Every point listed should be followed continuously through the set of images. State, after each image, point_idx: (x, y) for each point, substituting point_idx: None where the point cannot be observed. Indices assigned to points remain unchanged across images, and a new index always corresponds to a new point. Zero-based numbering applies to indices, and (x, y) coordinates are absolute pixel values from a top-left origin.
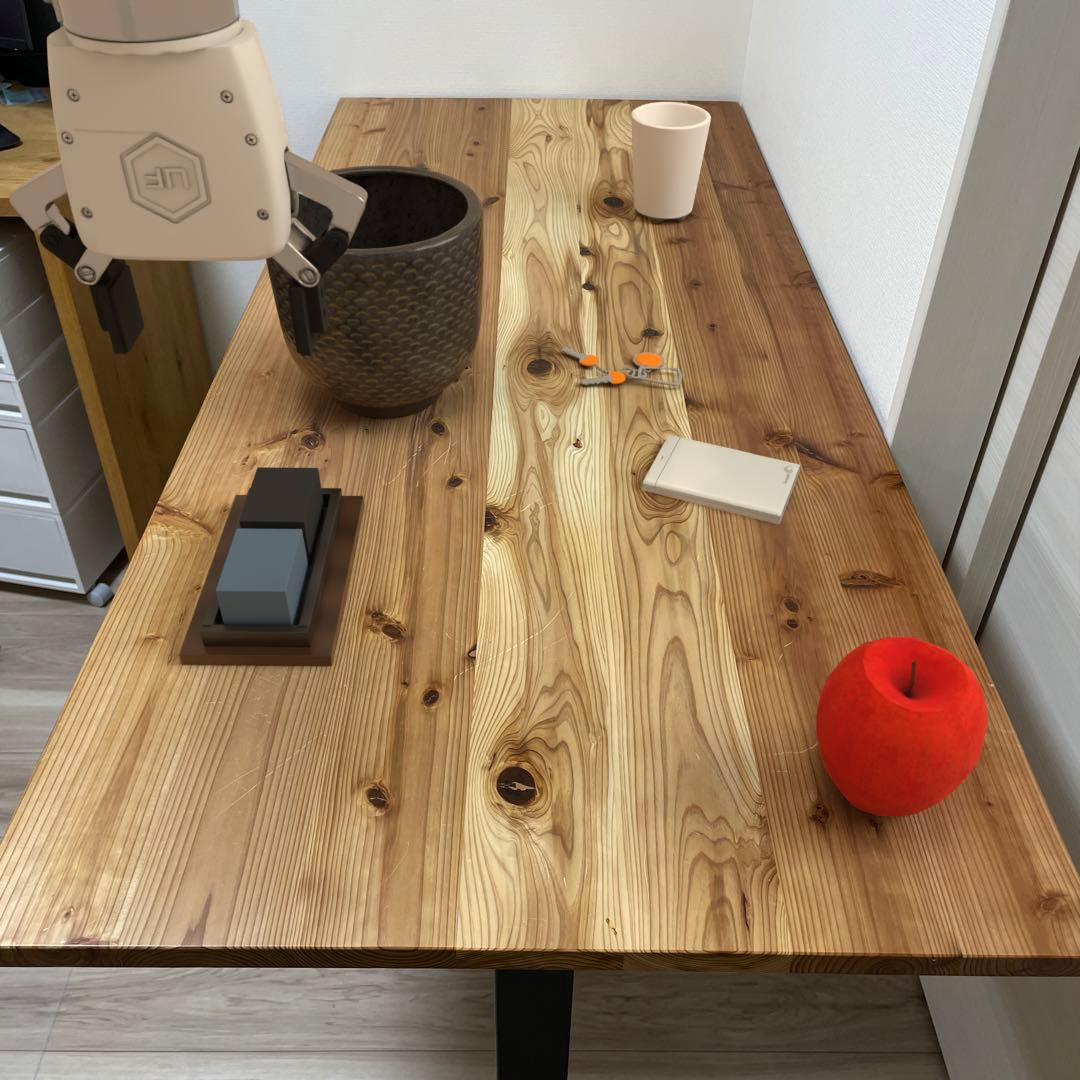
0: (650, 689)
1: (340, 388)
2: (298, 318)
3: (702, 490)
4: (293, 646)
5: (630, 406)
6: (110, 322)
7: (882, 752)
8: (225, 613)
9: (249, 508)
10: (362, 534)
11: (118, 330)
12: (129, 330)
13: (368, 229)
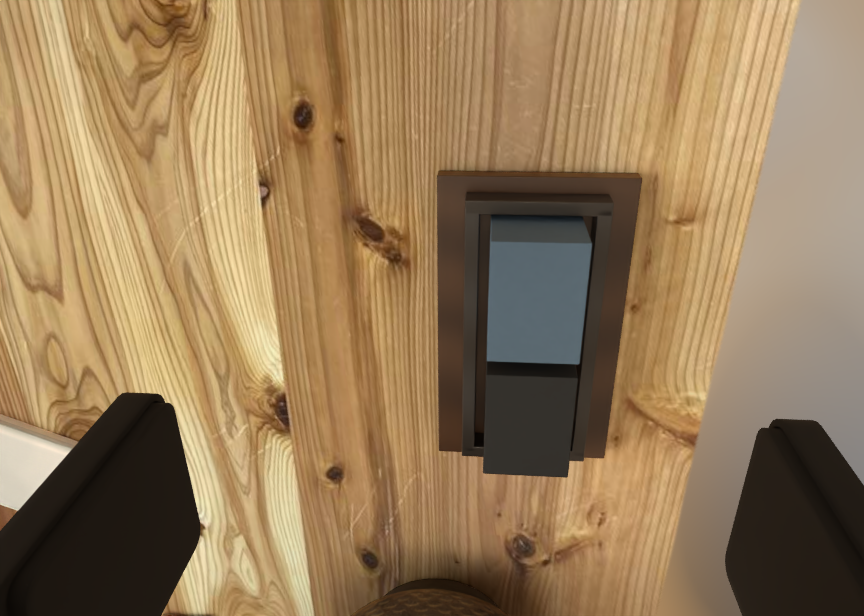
0: (36, 130)
1: (478, 612)
2: (64, 488)
3: (32, 445)
4: (488, 192)
5: None
6: (860, 508)
7: None
8: (580, 227)
9: (566, 401)
10: (435, 393)
11: (817, 483)
12: (771, 507)
13: None
